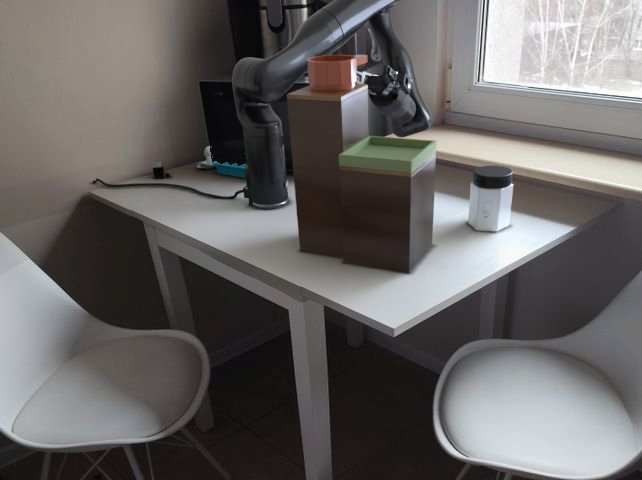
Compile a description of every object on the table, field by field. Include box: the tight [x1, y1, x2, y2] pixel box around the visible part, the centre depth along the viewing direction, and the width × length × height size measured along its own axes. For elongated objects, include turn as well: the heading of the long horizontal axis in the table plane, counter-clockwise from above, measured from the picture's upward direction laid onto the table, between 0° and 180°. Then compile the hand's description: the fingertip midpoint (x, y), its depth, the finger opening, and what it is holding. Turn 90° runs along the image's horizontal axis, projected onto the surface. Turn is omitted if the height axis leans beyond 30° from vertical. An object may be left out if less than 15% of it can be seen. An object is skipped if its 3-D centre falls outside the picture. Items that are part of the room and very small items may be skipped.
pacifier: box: [196, 145, 216, 170], centre depth 183 cm, size 7×6×6 cm
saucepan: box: [307, 54, 368, 92], centre depth 119 cm, size 18×9×5 cm, turn 154°
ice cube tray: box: [212, 161, 247, 179], centre depth 178 cm, size 12×20×3 cm, turn 58°
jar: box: [467, 165, 514, 232], centre depth 134 cm, size 9×8×12 cm
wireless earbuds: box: [151, 160, 172, 179], centre depth 179 cm, size 5×7×3 cm, turn 14°
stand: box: [286, 84, 437, 274], centre depth 120 cm, size 14×25×31 cm, turn 64°
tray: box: [339, 135, 437, 172], centre depth 116 cm, size 14×14×2 cm
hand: (366, 69), depth 128 cm, fingers open, 8 cm apart
